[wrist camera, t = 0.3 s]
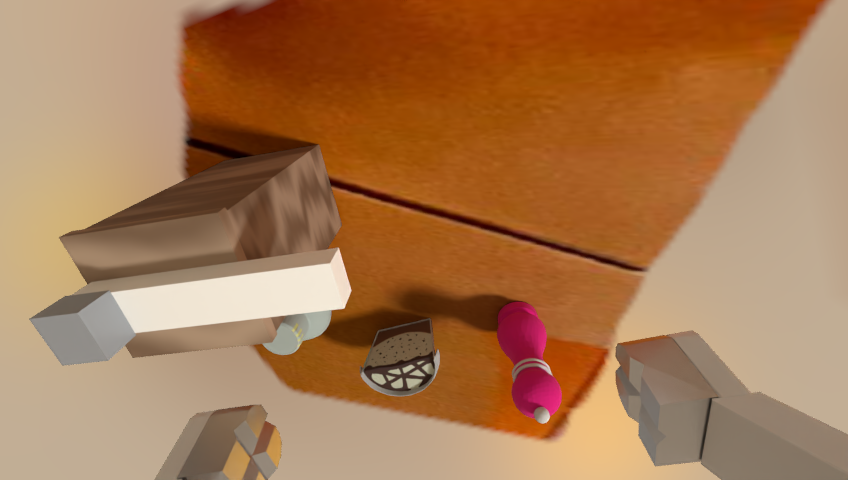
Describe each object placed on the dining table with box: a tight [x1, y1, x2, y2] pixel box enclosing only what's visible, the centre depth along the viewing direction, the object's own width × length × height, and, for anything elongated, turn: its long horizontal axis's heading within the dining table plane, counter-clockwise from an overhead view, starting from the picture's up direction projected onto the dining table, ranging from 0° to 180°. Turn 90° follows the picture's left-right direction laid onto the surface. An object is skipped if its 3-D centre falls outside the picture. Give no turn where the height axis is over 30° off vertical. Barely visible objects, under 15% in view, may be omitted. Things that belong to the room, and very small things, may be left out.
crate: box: [59, 145, 342, 358], centre depth 46 cm, size 13×14×26 cm
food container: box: [360, 318, 440, 396], centre depth 63 cm, size 12×6×10 cm, turn 109°
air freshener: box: [263, 310, 331, 355], centre depth 61 cm, size 11×8×10 cm
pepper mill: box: [497, 302, 562, 423], centre depth 55 cm, size 7×7×20 cm
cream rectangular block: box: [29, 248, 351, 365], centre depth 31 cm, size 4×22×6 cm, turn 100°
